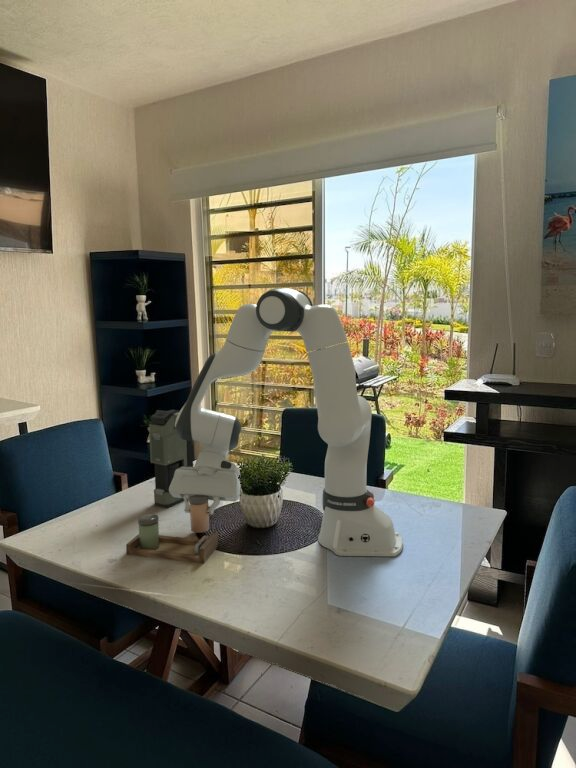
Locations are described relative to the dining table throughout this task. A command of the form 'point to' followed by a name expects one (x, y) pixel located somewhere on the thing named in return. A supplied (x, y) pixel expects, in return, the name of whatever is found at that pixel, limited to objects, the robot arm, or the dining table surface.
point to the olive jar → (149, 532)
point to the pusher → (200, 544)
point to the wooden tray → (176, 548)
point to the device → (167, 455)
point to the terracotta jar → (199, 513)
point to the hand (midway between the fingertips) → (198, 512)
